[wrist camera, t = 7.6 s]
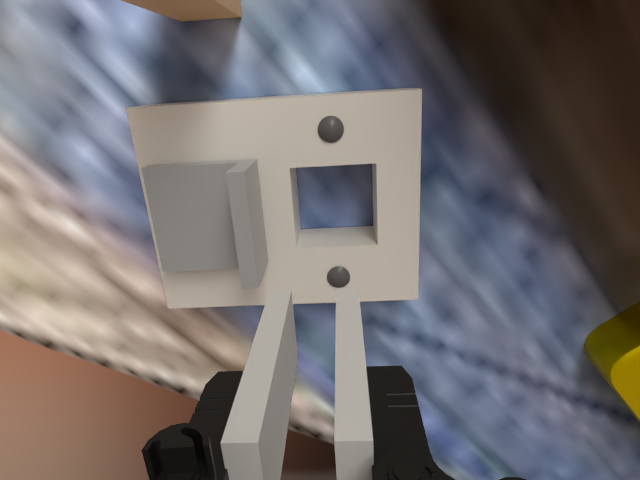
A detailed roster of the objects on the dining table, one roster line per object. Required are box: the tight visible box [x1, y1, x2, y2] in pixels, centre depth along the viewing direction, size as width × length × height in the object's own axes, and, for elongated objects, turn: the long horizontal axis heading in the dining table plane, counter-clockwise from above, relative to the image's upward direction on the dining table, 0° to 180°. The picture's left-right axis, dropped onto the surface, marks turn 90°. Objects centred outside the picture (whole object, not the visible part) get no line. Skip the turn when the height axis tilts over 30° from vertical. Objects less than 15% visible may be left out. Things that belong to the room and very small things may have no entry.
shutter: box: [141, 159, 269, 289], centre depth 27 cm, size 7×7×4 cm
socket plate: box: [126, 88, 422, 309], centre depth 30 cm, size 18×14×4 cm
